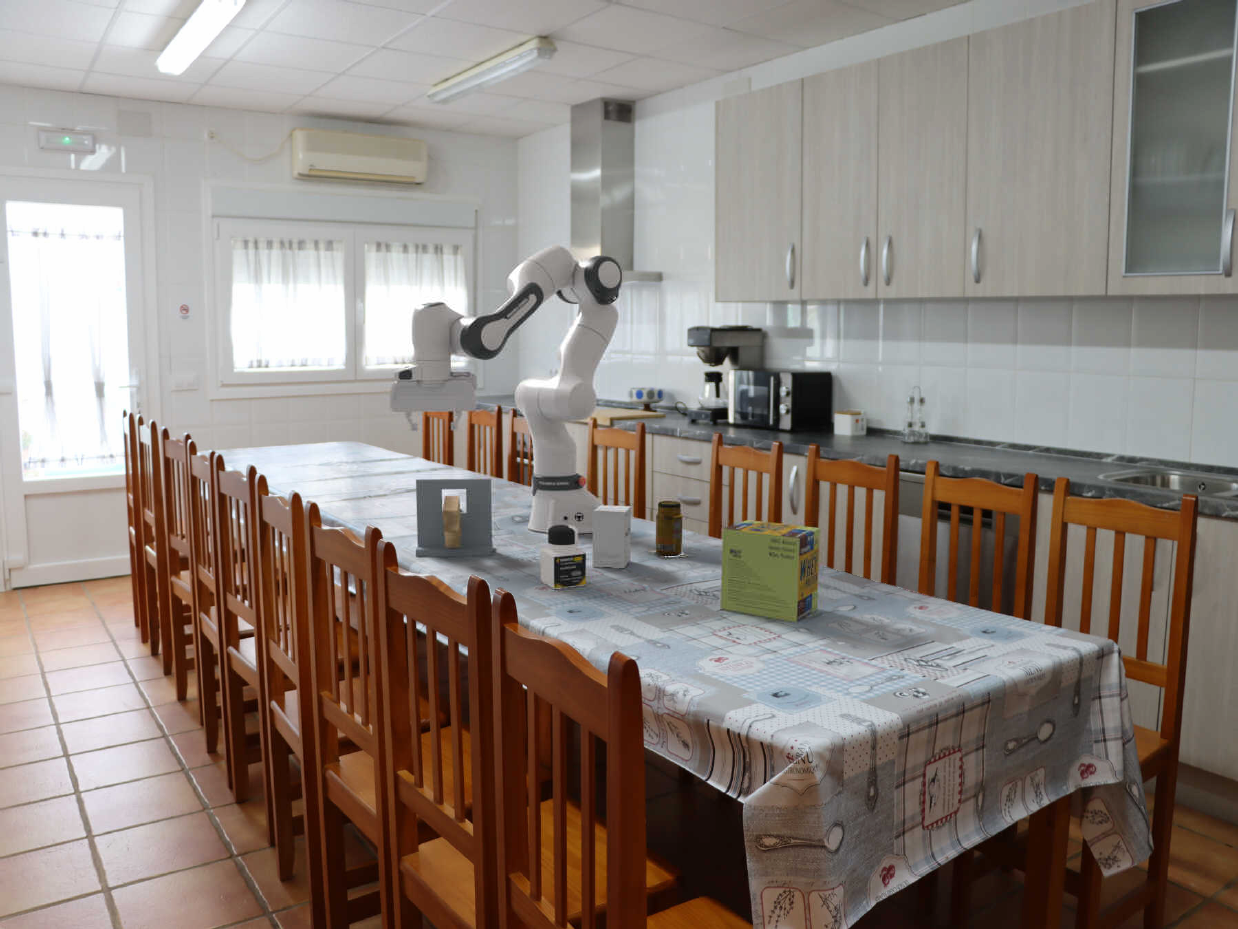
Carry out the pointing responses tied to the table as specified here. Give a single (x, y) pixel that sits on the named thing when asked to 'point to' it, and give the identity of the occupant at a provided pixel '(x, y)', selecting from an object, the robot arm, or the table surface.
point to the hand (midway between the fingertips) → (434, 430)
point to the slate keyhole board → (472, 521)
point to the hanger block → (452, 521)
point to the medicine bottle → (563, 558)
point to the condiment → (668, 530)
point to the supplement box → (611, 536)
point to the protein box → (770, 569)
